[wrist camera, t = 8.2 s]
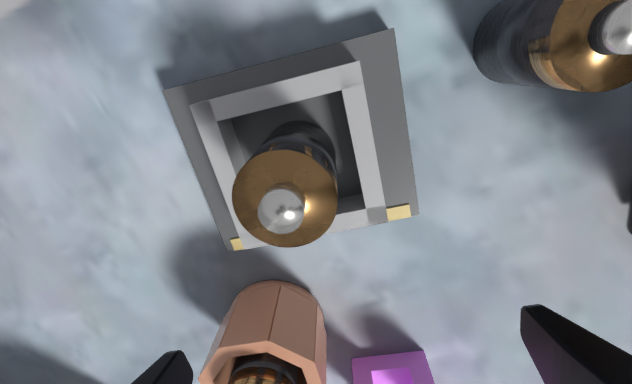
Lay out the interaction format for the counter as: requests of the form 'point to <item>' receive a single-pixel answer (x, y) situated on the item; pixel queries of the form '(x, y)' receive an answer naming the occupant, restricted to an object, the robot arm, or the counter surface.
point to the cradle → (312, 106)
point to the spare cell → (557, 44)
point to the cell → (288, 186)
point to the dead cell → (263, 370)
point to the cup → (270, 332)
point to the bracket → (392, 369)
